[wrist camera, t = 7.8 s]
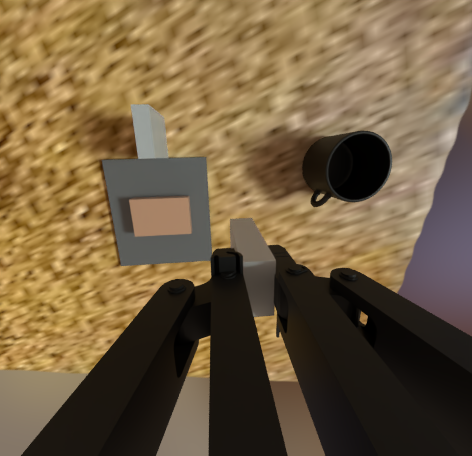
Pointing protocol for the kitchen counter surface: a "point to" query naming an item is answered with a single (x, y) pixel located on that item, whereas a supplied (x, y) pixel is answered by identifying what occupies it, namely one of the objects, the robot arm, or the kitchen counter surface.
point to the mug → (347, 166)
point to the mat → (159, 185)
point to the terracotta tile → (161, 215)
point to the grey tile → (149, 132)
